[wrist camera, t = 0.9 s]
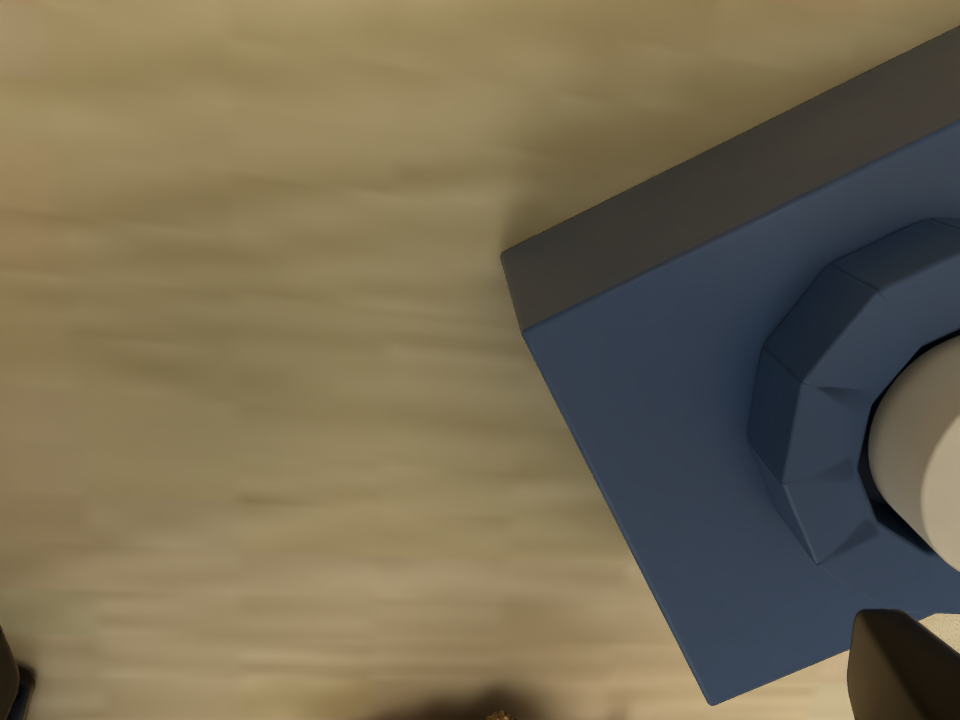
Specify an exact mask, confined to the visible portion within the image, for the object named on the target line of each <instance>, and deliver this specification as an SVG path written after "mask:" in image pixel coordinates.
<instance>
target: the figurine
mask: <svg viewBox="0 0 960 720" xmlns="http://www.w3.org/2000/svg"><path fill="white" fill-rule="evenodd" d="M486 720H517V719H513V718H512V716H511V715H507V713H506V712H504V711H502V710H501V711H500V712H494V714H493V715H491V716H488V717H486Z"/></svg>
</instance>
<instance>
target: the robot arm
mask: <svg viewBox="0 0 960 720" xmlns="http://www.w3.org/2000/svg"><path fill="white" fill-rule="evenodd" d="M847 685H848V693H849V698H850V702H851V706H852V710H853V714H854V718H855V720H960V654H959V653H958V652H956V651H955V650H954V649H953V648H951V647H950V646H949V645H947V644H946V643H945V642H944V641H942V640H941V639H940V638H939V637H937V636H936V635H935V634H933V633H932V632H931V631H930V630H928V629H927V628H926V627H925V626H923V625H922V624H921V623H919V622H918V621H917V620H916V619H914V618H913V617H912V616H911V615H909V614H908V613H906V612H905V611H903V610H900V609H862V610H860V611H858V612H857V613H856V615H855V618H854V621H853V628H852V636H851V644H850V652H849V661H848V669H847ZM34 688H35V679H34V677H33V675H32V674H31V673H30V672H29V671H28V670H26V669H24V668H22V667H19V666H17V664H16V662H15V659H14V657H13V654H12V652H11V650H10V647H9V645H8V642H7V640H6V637H5V635H4V632H3V630H2V627H1V625H0V720H26V717H27V713H28V710H29V706H30V702H31V699H32V695H33V692H34Z"/></svg>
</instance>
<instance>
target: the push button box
mask: <svg viewBox="0 0 960 720" xmlns="http://www.w3.org/2000/svg"><path fill="white" fill-rule="evenodd" d="M500 259H501V262H502V266H503V269H504V273H505V276H506V280H507V284H508V287H509V291H510V294H511V298H512V301H513V305H514V309H515V312H516V316H517V319H518V323H519V327H520V330H521V334H522V336H523V338H524V340H525V342H526V344H527V346H528V348H529V350H530V352H531V354H532V356H533V358H534V360H535V362H536V364H537V366H538V368H539V370H540V372H541V374H542V376H543V378H544V380H545V382H546V384H547V386H548V388H549V390H550V392H551V394H552V396H553V398H554V400H555V402H556V404H557V406H558V408H559V410H560V412H561V414H562V416H563V418H564V420H565V421H566V423H567V425H568V427H569V429H570V431H571V433H572V435H573V437H574V439H575V441H576V443H577V445H578V447H579V449H580V451H581V453H582V455H583V457H584V459H585V461H586V463H587V465H588V467H589V469H590V471H591V473H592V475H593V477H594V479H595V481H596V483H597V485H598V487H599V489H600V491H601V493H602V495H603V497H604V499H605V501H606V503H607V505H608V507H609V509H610V511H611V513H612V515H613V517H614V519H615V520H616V522H617V524H618V526H619V528H620V530H621V532H622V534H623V536H624V538H625V540H626V542H627V544H628V546H629V548H630V550H631V552H632V554H633V556H634V558H635V560H636V562H637V564H638V566H639V568H640V570H641V572H642V574H643V576H644V578H645V580H646V582H647V584H648V586H649V588H650V590H651V592H652V594H653V596H654V598H655V600H656V602H657V604H658V606H659V608H660V610H661V612H662V614H663V616H664V618H665V619H666V621H667V623H668V625H669V627H670V629H671V631H672V633H673V635H674V637H675V639H676V641H677V643H678V645H679V647H680V649H681V651H682V653H683V655H684V657H685V659H686V661H687V663H688V665H689V667H690V669H691V671H692V673H693V675H694V677H695V679H696V681H697V683H698V685H699V687H700V689H701V691H702V693H703V695H704V697H705V699H706V701H707V703H708V704H710V705H711V706H714V705H717V704H719V703H722V702H724V701H726V700H729V699H731V698H734V697H736V696H738V695H741V694H743V693H746V692H748V691H751V690H753V689H755V688H758V687H760V686H763V685H765V684H767V683H770V682H772V681H775V680H777V679H779V678H782V677H784V676H787V675H789V674H791V673H794V672H796V671H799V670H801V669H803V668H806V667H808V666H811V665H813V664H815V663H818V662H820V661H823V660H825V659H827V658H830V657H832V656H835V655H837V654H839V653H842V652H844V651H847V650H849V649H850V644H851V636H852V628H853V621H854V618H855V615H856V613H857V612H858V611H860V610H862V609H900V610H903V611H905V612H906V613H908V614H909V615H911V616H912V617H913V618H914V619H916V620H917V621H919V620H921V619H924V618H926V617H928V616H931V615H933V614H936V613H944V614H960V572H959V571H957V570H956V569H954V568H953V567H952V566H950V565H949V564H948V563H946V562H945V561H944V560H943V559H942V558H941V557H940V556H939V555H938V554H937V553H936V552H935V551H934V550H933V549H932V548H931V547H930V546H929V544H928V543H927V542H926V541H925V540H924V539H923V538H922V537H921V536H920V535H919V534H918V533H917V532H916V531H915V530H914V529H913V528H912V527H911V526H910V525H909V524H908V523H907V522H906V521H905V520H904V519H903V518H902V517H901V516H900V515H899V514H898V513H897V512H896V511H895V510H894V509H893V508H892V507H891V506H890V505H889V504H888V503H887V502H886V501H885V499H884V498H883V496H882V495H881V494H880V492H879V491H878V489H877V486H876V484H875V482H874V480H873V477H872V473H871V470H870V465H869V457H868V441H869V434H870V428H871V425H872V421H873V418H874V415H875V413H876V410H877V408H878V406H879V404H880V401H881V400H882V398H883V396H884V395H885V393H886V391H887V390H888V388H889V387H890V386H891V384H892V383H893V382H894V380H895V379H896V378H897V377H898V376H899V375H900V374H901V373H902V372H903V370H904V369H905V368H906V367H907V366H908V365H910V364H911V363H912V362H913V361H914V360H916V359H917V358H918V357H919V356H921V355H922V354H924V353H925V352H927V351H928V350H930V349H931V348H933V347H935V346H936V345H938V344H940V343H942V342H944V341H946V340H949V339H951V338H954V337H956V336H959V335H960V26H958V27H956V28H954V29H952V30H950V31H948V32H946V33H944V34H942V35H940V36H938V37H936V38H934V39H932V40H930V41H928V42H926V43H924V44H922V45H920V46H918V47H916V48H914V49H912V50H910V51H908V52H906V53H904V54H902V55H900V56H898V57H896V58H894V59H892V60H890V61H888V62H886V63H884V64H881V65H879V66H877V67H875V68H873V69H871V70H869V71H867V72H865V73H863V74H861V75H859V76H857V77H855V78H853V79H851V80H849V81H847V82H845V83H843V84H841V85H839V86H837V87H835V88H833V89H831V90H829V91H827V92H825V93H823V94H821V95H819V96H817V97H815V98H813V99H811V100H809V101H807V102H805V103H803V104H801V105H799V106H797V107H795V108H793V109H791V110H789V111H787V112H785V113H782V114H780V115H778V116H776V117H774V118H772V119H770V120H768V121H766V122H764V123H762V124H760V125H758V126H756V127H754V128H752V129H750V130H748V131H746V132H744V133H742V134H740V135H738V136H736V137H734V138H732V139H730V140H728V141H726V142H724V143H722V144H720V145H718V146H716V147H714V148H712V149H710V150H708V151H706V152H704V153H702V154H700V155H698V156H696V157H694V158H692V159H690V160H688V161H686V162H684V163H681V164H679V165H677V166H675V167H673V168H671V169H669V170H667V171H665V172H663V173H661V174H659V175H657V176H655V177H653V178H651V179H649V180H647V181H645V182H643V183H641V184H639V185H637V186H635V187H633V188H631V189H629V190H627V191H625V192H623V193H621V194H619V195H617V196H615V197H613V198H611V199H609V200H607V201H605V202H603V203H601V204H599V205H597V206H595V207H593V208H591V209H589V210H587V211H585V212H582V213H580V214H578V215H576V216H574V217H572V218H570V219H568V220H566V221H564V222H562V223H560V224H558V225H556V226H554V227H552V228H550V229H548V230H546V231H544V232H542V233H540V234H538V235H536V236H534V237H532V238H530V239H528V240H526V241H524V242H522V243H520V244H518V245H516V246H514V247H512V248H510V249H508V250H506V251H504V252H502V253H501V254H500Z"/></svg>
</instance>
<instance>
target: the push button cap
mask: <svg viewBox="0 0 960 720" xmlns="http://www.w3.org/2000/svg"><path fill="white" fill-rule="evenodd" d="M868 457H869V465H870V470H871V473H872V477H873V480H874V482H875V484H876V486H877V489H878V491H879V492H880V494H881V495H882V496H883V498H884V499H885V501H886V502H887V503H888V504H889V505H890V506H891V507H892V508H893V509H894V510H895V511H896V512H897V513H898V514H899V515H900V516H901V517H902V518H903V519H904V520H905V521H906V522H907V523H908V524H909V525H910V526H911V527H912V528H913V529H914V530H915V531H916V532H917V533H918V534H919V535H920V536H921V537H922V538H923V539H924V540H925V541H926V542H927V543H928V544H929V546H930V547H931V548H932V549H933V550H934V551H935V552H936V553H937V554H938V555H939V556H940V557H941V558H942V559H943V560H944V561H945V562H946V563H948V564H949V565H950V566H952V567H953V568H954V569H956V570H957V571H959V572H960V335H959V336H956V337H954V338H951V339H949V340H946V341H944V342H942V343H940V344H938V345H936V346H935V347H933V348H931V349H930V350H928V351H927V352H925V353H924V354H922V355H921V356H919V357H918V358H917V359H916V360H914V361H913V362H912V363H911V364H910V365H908V366H907V367H906V368H905V369H904V370H903V372H902V373H901V374H900V375H899V376H898V377H897V378H896V379H895V380H894V382H893V383H892V384H891V386H890V387H889V388H888V390H887V391H886V393H885V395H884V396H883V398H882V400H881V401H880V404H879V406H878V408H877V410H876V413H875V415H874V418H873V421H872V425H871V428H870V434H869V441H868Z"/></svg>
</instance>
